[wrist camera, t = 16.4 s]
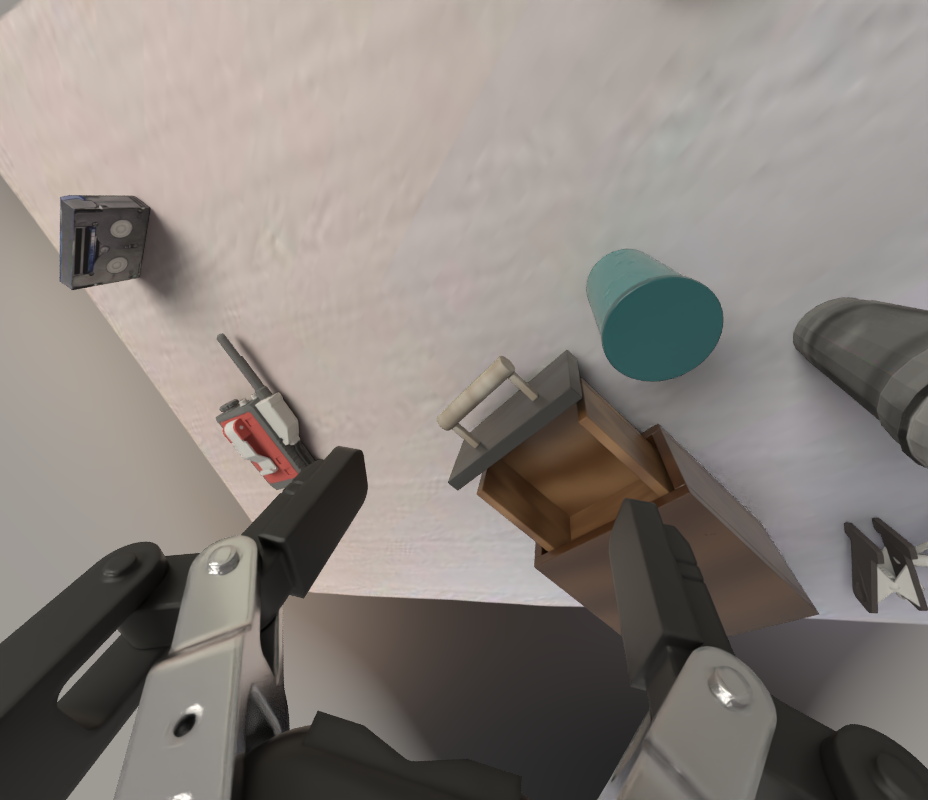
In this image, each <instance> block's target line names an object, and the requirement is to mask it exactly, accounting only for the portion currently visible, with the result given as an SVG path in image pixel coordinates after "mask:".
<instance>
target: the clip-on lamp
mask: <svg viewBox="0 0 928 800" xmlns="http://www.w3.org/2000/svg"><path fill="white" fill-rule="evenodd" d="M872 522H873V526H874V528H875V530H876V531H877V532H878V533H879V534H881V537H882V540H883V543H884V546H885V547H884V548H883V550H882V551H881V550H880V549H879V548H878V547H877V546H876V545H875V544H874V543H873V542H872V541H870V540H869V539H868V538H867V537H866V536H865V535H864V534H863V533H862V532H861V531H860V530H858V529H857V528H856V527H855V526H854V525H853V524H852V523H844V526H845V533H846V534H847V536H848V537H849V538H850V539H851V550H852V586H853V592H854V594H855V596H856V598H857V599H858V600H859V602H860V603H861V604H862V605H863V606H864V608H865V609H866V610H867V611H868V612H869V613H878V603H879V602H881V601H882V600H883V599H884V598H886V597H887V596H888V595H889V594H891V593H892V592H895V593H896V594H897V595H898V596H899V597H900V598H901V599H908V600H909V601H910V602H911V603H912V604H913V605H914V606H915V607H916V608H917V609H918V610H919V611H927V610H928V607H927V604H926V601H925V598H924V595H923V592H922V591H924V590H925V589H924V588H923V586H922V585H921V583H920V582H919V579H918V576H917V573H916V570H915V567H914V565H915V566H923V567H928V555H920V553H922V552H923V551H925V550H927V549H928V541H927V542H924V543H922V544H919V545H918V546H917V547H914V546H913V545H912V544H911V543H909V542H908V541H907V540H906V539H904V538H903V537H902V536H901V535H899V534H898V533H897V532H896V531H895V530H893V529H892V528H891V527H890V526H888V525H887V524H886V523H885V522H883V521H882V520H881V519H880V518H872Z"/></svg>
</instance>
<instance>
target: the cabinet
mask: <svg viewBox="0 0 928 800" xmlns="http://www.w3.org/2000/svg"><path fill="white" fill-rule="evenodd" d="M641 435H642V436H643V437H644V438H645V439H647V440H648V441H649V442H650V443H651V444H652V445H653V446H654V447H655V448H656V449H657V450H658V451H659V453H660V455H661V458H662V460H663V463H664V465H665V467H666V470H667V472H668V475H669V477H670V479H671V482H672V484H673V487H674V489H675V490H673V491H671V492H669V493H667V494H665V495H663V496H661V497H659V498H657V499H655V500H653V501H651V502H653V503H655V504H656V505H657V507H658V510H659V513H660V516H661V519H662V521H663V524H666V525H672V526H675V527H676V528H677V529H678V530H679V532H680V533H681V534H682V535H683V536H684V538H685V539H686V540H687V541H688V542H689V544H690V546H691V548H692V551H693V553H694V556H695V558H696V561H697V567H699V568H700V571H701V573H702V576H703V578H704V583H706V586H707V588H708V591H709V593H710V596H711V598H712V600H713V603H714V605H715V608H716V610H717V613H718V615H719V618H720V620H721V623H722V625H723V628H724V630H725V633H726V635H727V637H728V636H732V635H736V634H741V633H745V632H748V631H753V630H757V629H761V628H765V627H769V626H773V625H778V624H782V623H786V622H790V621H794V620H798V619H802V618H806V617H810V616H815V615H819V613H818V611H817V610H816V608H815V606H814V605H813V603H812V602H811V600H810V599H809V597H808V596H807V594H806V593H805V591H804V589H803V588H802V586H801V585H800V583H799V582H798V580H797V579H796V577H795V575H794V574H793V572H792V571H791V569H790V568H789V566H788V565H787V563H786V561H785V560H784V558H783V557H782V555H781V554H780V552H779V550H778V549H777V547H776V546H775V544H774V543H773V541H772V540H771V538H770V536H769V535H768V533H767V532H766V530H765V529H764V527H763V525H762V524H761V523H760V522H759V521H758V520H757V519H756V518H755V517H754V516H753V515H752V514H751V513H750V512H749V511H747V510H746V509H745V508H744V507H743V506H742V505H741V504H740V503H739V502H738V501H737V500H736V499H735V498H734V497H733V496H732V495H731V494H730V493H729V492H728V491H727V490H726V489H725V488H724V487H723V486H722V485H721V484H720V483H719V482H718V481H717V480H716V479H715V478H713V477H712V476H711V475H710V474H709V473H708V472H707V471H706V470H705V469H704V468H703V467H702V466H701V465H700V464H699V463H698V462H697V461H696V460H695V459H694V458H693V457H692V456H691V455H690V454H689V453H688V452H687V451H686V450H685V449H684V448H683V447H682V446H681V445H680V444H678V443H677V442H676V441H675V440H674V439H673V438H672V437H671V436H670V435H669V434H668V433H667V432H666V431H665V430H664V429H663V428H662V427H661V426H660V425H659V424H657V425H655V426H653V427H652V428H650V429H648V430H647V431H645V432H644V433H642V434H641ZM615 520H616V519H614V520H612V521H610V522H608V523H606V524H604V525H602V526H600V527H598V528H596V529H594V530H592V531H590V532H588V533H586V534H584V535H582V536H580V537H578V538H576V539H574V540H572V541H570V542H568V543H566V544H564V545H562V546H560V547H558V548H556V549H553V550H551V551H549V552H548V551H547V550H545V549H544V548H543V547H542V546H540V545H539V544H538V543H537V542H536V544H535V561H534V567H535V568H536V569H537V570H539V571H540V572H541V573H542V574H544V575H545V576H546V577H547V578H549V579H550V580H551V581H553V582H554V583H555V584H556V585H558V586H559V587H560V588H562V589H563V590H564V591H565V592H567V593H568V594H569V595H570V596H572V597H573V598H574V599H576V600H577V601H578V602H579V603H581V604H582V605H583V606H584V607H586V608H587V609H588V610H590V611H591V612H592V613H593V614H595V615H596V616H597V617H599V618H600V619H601V620H603V621H604V622H605V623H606V624H607V625H609V626H610V627H611V628H613V629H614V630H615V631H616V632H618V633H619V634H620V635H622V632H621V626H620V620H619V614H618V607H617V601H616V595H615V589H614V583H613V576H612V570H611V564H610V558H609V538H610V534H611V531H612V528H613V525H614V523H615Z"/></svg>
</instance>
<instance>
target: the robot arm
mask: <svg viewBox="0 0 928 800" xmlns="http://www.w3.org/2000/svg"><path fill="white" fill-rule="evenodd" d="M367 490H368V483H367V476H366V469H365V462H364V455H363V452H362V451H361V450H359V449H353V448H347V447H342V446H337V447H336V448H334V449H333V451H332V452H331V453H330V454H329V455H328V456H327V457H326V458H325V460H322V459H318V460H316V461H315V462H313V463H311V464H310V465H308V466H306V467H305V468H303V469H302V470H301V471H300V473H299V474H298V475H297V476H296V477H295V478H294V479H293V480H292V483H289V484H288V485H287V486H286V488H285V489H284V490H283V492H282V493H280V494H279V495H278V496H277V497H276V498H275V499H274V500H273V501H272V503H271V504H270V505H269V506H268V507H267V508H266V509H265V510H264V511H263V512H262V513H261V514H260V515H259V516H258V518H257V519H256V520H255V521H254V522H253V523H252V524H251V525H250V526H249V527H248V528H247V529H246V530H245V532H243V533H242V534H241V535H239V536H231V537H227V538H224V539H221V540H219V541H217V542H215V543H213V544H211V545H210V546H208V547H207V548H206V549H204V550H203V551H202V552H201V553H195V554H184V555H173V556H164V554H163V552H162V551H161V549H160V548H159V547H158V545H156V544H154V543H151V542H138V543H133V544H130V545H127V546H124V547H122V548H119V549H117V550H115V551H113V552H112V553H110V554H108V555H107V556H105V557H104V558H102V559H101V560H100V561H98V562H97V563H96V564H95V565H93V566H92V567H91V568H90V569H89V570H88V571H86V572H85V573H84V574H83V575H81V576H80V577H79V578H78V579H77V580H75V581H74V582H73V583H72V584H71V585H70V586H68V587H67V588H66V589H65V590H64V591H62V592H61V593H60V594H59V595H58V596H57V597H55V598H54V599H53V600H52V601H51V602H49V603H48V604H47V605H46V606H45V607H43V608H42V609H41V610H40V611H39V612H37V613H36V614H35V615H34V616H33V617H31V618H30V619H29V620H28V621H27V622H26V623H24V625H22V626H21V627H20V628H19V629H17V630H16V631H15V632H14V633H12V634H11V635H10V636H9V637H8V638H7V639H5V640H4V641H3V642H2V643H1V644H0V800H66V799H67V798H68V796H69V795H70V794H71V792H72V791H73V790H74V789H75V787H76V786H77V785H78V783H79V782H80V781H81V780H82V778H83V777H84V776H85V774H86V773H87V772H88V770H89V769H90V768H91V766H92V765H93V764H94V763H95V761H96V760H97V759H98V757H99V756H100V755H101V754H102V752H103V751H104V750H105V748H106V747H107V746H108V745H109V743H110V742H111V741H112V739H113V738H114V737H115V735H116V734H117V733H118V732H119V730H120V729H121V727H122V726H123V725H124V724H125V722H126V721H127V720H128V719H129V717H130V716H131V715H132V713H133V712H134V711H135V709H136V708H137V707H138V706H139V707H138V711H137V714H136V718H135V722H134V725H133V729H132V733H131V736H130V740H129V745H128V748H127V752H126V755H125V759H124V762H123V766H122V770H121V774H120V777H119V781H118V785H117V788H116V792H115V796H114V799H113V800H530V799H529V798H528V797H526V796H525V795H524V794H523V793H521V778H522V777H521V776H519V775H516V774H513V773H509V772H506V771H503V770H500V769H497V768H494V767H491V766H488V765H485V764H481V763H478V762H475V761H472V760H469V759H458V760H437V761H418V762H415V761H409V760H407V759H405V758H404V757H403V756H401V755H400V754H399V753H398V752H396V751H395V750H394V749H393V748H391V747H390V746H389V745H388V744H386V743H385V742H384V741H383V740H381V739H380V738H379V737H378V736H376V735H375V734H374V733H373V732H371V731H370V730H369V729H368V728H366V727H365V726H363V725H361V724H357V723H354V722H351V721H348V720H345V719H342V718H339V717H336V716H333V715H330V714H327V713H323V712H320V711H317V714H316V716H315V718H314V720H313V723H312V725H310V726H304V727H299V728H295V729H292V730H290V728H289V714H288V705H287V700H286V695H285V690H284V677H283V611H282V605H283V603H284V602H285V600H286V599H287V597H288V596H289V595H292V596H296V597H300V598H304V597H305V596H306V594H307V593H308V591H309V589H310V588H311V586H312V585H313V583H314V581H315V580H316V578H317V577H318V575H319V573H320V572H321V570H322V569H323V567H324V565H325V564H326V562H327V561H328V559H329V557H330V556H331V554H332V553H333V551H334V549H335V548H336V546H337V545H338V543H339V541H340V540H341V538H342V537H343V535H344V534H345V532H346V530H347V529H348V527H349V526H350V524H351V522H352V521H353V519H354V518H355V516H356V514H357V513H358V511H359V510H360V508H361V506H362V505H363V503H364V501H365V498H366V495H367ZM609 558H610V564H611V570H612V576H613V583H614V589H615V595H616V601H617V607H618V614H619V620H620V626H621V632H622V638H623V645H624V651H625V656H626V663H627V669H628V676H629V681H630V686H631V687H634V688H638V689H642V690H646V691H647V695H648V700H649V705H650V710H649V711H648V712H647V714H646V716H645V718H644V719H643V721H642V723H641V724H640V726H639V728H638V730H637V732H636V734H635V735H634V737H633V739H632V741H631V742H630V744H629V746H628V748H627V749H626V751H625V753H624V755H623V757H622V759H621V760H620V762H619V764H618V766H617V767H616V769H615V771H614V773H613V775H612V776H611V778H610V780H609V782H608V784H607V785H606V787H605V789H604V790H603V792H602V793H601V795H600V796H599V798H598V799H597V800H928V769H927V768H926V767H925V766H924V765H923V764H922V763H921V762H920V761H919V760H918V759H917V758H916V757H914V756H913V755H912V754H911V753H910V752H908V751H907V750H906V749H905V748H903V747H902V746H901V745H899V744H898V743H896V742H895V741H894V740H892V739H890V738H889V737H887V736H886V735H884V734H882V733H880V732H878V731H876V730H874V729H871V728H869V727H866V726H862V725H856V724H850V725H846V726H844V727H842V728H841V729H839V730H838V731H834V730H832V729H830V728H829V727H827V726H825V725H823V724H821V723H819V722H817V721H816V720H814V719H812V718H810V717H809V716H807V715H805V714H803V713H801V712H799V711H798V710H796V709H794V708H792V707H790V706H788V705H787V704H785V703H783V702H782V701H780V700H778V699H777V698H775V697H774V696H773V695H771V694H769V692H768V690H767V689H766V687H765V686H764V684H763V683H762V681H761V680H760V679H759V678H758V676H757V675H756V674H755V673H754V672H753V671H752V670H751V669H750V668H749V667H748V666H747V665H746V664H745V663H743V662H742V661H741V660H739V659H738V658H737V657H736V656H735V654H734V652H733V650H732V648H731V645H730V643H729V640H728V638H727V635H726V633H725V630H724V628H723V625H722V623H721V620H720V618H719V615H718V613H717V610H716V608H715V605H714V603H713V600H712V598H711V596H710V593H709V591H708V588H707V586H706V583H704V578H703V576H702V573H701V571H700V568H699V567H697V561H696V558H695V556H694V553H693V551H692V548H691V546H690V544H689V542H688V541H687V540H686V539H685V538H684V536H683V535H682V534H681V533H680V532H679V530H678V529H677V528H676V527H675V526H672V525H666V524H663V521H662V519H661V516H660V513H659V510H658V507H657V505H656V504H655V503H653V502H647V501H642V500H636V499H630V498H625V499H624V500H623V502H622V504H621V507H620V509H619V512H618V515H617V517H616V520H615V523H614V525H613V528H612V531H611V534H610V538H609ZM116 630H118V631H119V632H120V633H121V635H120V636H119V637H118V639H117V640H116V641H115V642H114V643H113V644H112V645H111V646H110V647H109V648H108V649H107V650H106V651H105V652H104V653H103V654H102V656H101V657H100V658H99V659H98V660H97V661H96V662H95V663H94V664H93V665H92V666H91V667H90V668H89V669H88V671H87V672H86V673H85V674H84V675H83V676H82V677H81V678H80V679H79V680H78V681H77V682H76V683H75V684H74V685H73V686H72V688H71V689H70V690H69V691H68V692H67V693H66V694H65V695H64V696H63V697H62V698H61V699H60V700H59V701H58V702H57V699H58V696H59V693H60V691H61V690H62V688H63V686H64V685H65V684H66V682H67V681H68V680H69V679H70V677H72V675H73V674H74V673H75V672H76V671H77V670H78V669H79V668H80V667H81V666H82V665H83V664H84V663H85V662H86V661H87V660H88V659H89V658H90V657H91V656H92V655H93V654H94V653H95V651H96V650H97V649H98V648H99V647H100V646H101V645H102V644H103V643H104V642H105V641H106V640H107V639H108V638H109V637H110V636H111V635H112V634H113V633H114V632H115V631H116Z"/></svg>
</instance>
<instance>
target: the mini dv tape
mask: <svg viewBox="0 0 928 800" xmlns="http://www.w3.org/2000/svg"><path fill="white" fill-rule="evenodd" d="M149 212H150V208H149V207H148V206H146V205H145V204H144V203H143V202H141V201H140V200H139V199H137V198H136V197H135V196H92V195H68V196H64V197H60V282H62V283H63V284H64V285H66V286H67V287H69V288H70V289H71V290H76V289H81V288H87V287H92V286H97V285H103V284H108V283H114V282H119V281H124V280H130V279H135V278H139V275H140V269H141V263H142V256H143V250H144V244H145V237H146V231H147V225H148V219H149Z"/></svg>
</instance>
